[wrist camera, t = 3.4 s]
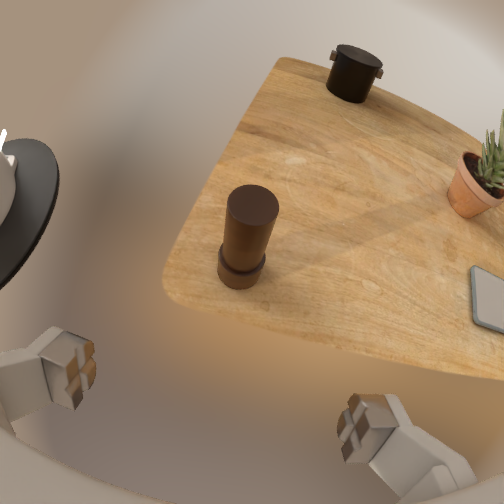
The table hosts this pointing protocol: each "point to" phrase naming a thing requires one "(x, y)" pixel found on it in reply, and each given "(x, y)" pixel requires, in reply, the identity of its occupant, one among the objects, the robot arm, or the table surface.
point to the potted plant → (479, 178)
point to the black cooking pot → (353, 73)
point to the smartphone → (487, 299)
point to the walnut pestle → (246, 235)
